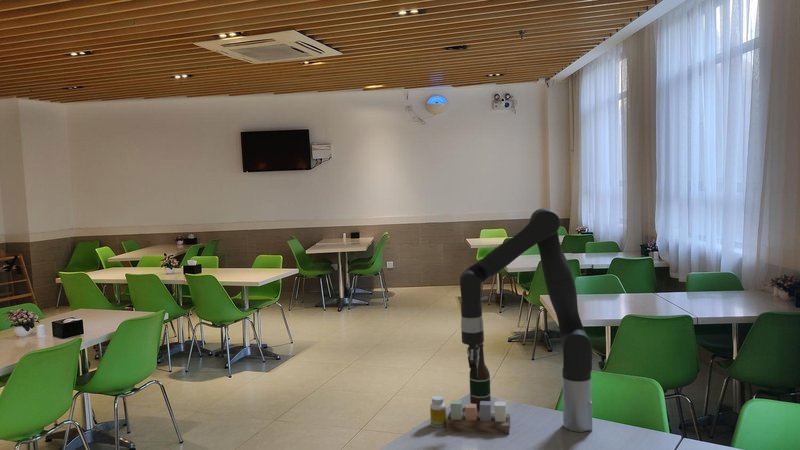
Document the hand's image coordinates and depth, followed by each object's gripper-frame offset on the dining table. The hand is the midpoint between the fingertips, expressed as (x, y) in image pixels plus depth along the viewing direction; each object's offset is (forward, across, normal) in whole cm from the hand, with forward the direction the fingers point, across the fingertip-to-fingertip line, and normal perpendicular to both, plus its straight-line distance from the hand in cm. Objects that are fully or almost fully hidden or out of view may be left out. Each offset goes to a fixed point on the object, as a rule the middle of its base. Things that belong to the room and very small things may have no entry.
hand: (474, 378), depth 209 cm
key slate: (+15, 0, -3) cm, 15 cm away
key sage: (+15, 0, +7) cm, 16 cm away
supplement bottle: (+17, 0, +13) cm, 22 cm away
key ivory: (+15, 0, -8) cm, 17 cm away
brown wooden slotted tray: (+17, 0, -1) cm, 17 cm away
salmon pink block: (+16, 0, +2) cm, 16 cm away
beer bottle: (+17, +19, 0) cm, 26 cm away
